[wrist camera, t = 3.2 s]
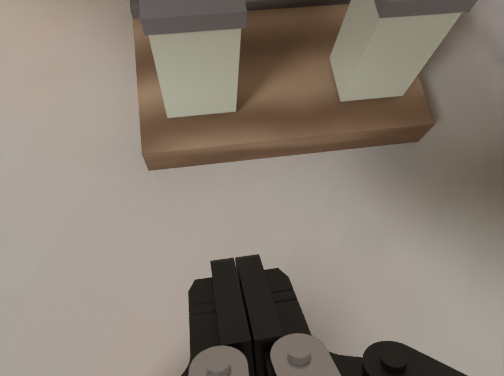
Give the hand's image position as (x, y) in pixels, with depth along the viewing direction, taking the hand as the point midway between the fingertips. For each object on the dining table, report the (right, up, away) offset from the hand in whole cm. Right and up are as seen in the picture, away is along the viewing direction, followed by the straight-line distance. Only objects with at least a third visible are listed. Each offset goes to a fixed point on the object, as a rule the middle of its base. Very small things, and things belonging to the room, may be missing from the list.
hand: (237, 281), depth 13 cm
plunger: (+9, +12, +20) cm, 25 cm away
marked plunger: (-4, +10, +19) cm, 22 cm away
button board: (+2, +13, +24) cm, 27 cm away
